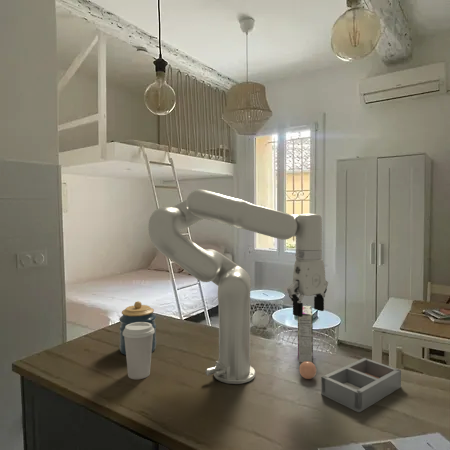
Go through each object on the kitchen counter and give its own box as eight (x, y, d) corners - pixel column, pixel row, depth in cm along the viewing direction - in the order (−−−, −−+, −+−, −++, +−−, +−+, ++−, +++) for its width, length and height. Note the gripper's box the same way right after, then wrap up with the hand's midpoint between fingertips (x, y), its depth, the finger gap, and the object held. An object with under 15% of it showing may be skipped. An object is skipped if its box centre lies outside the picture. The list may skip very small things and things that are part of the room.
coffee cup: (161, 371, 109) (160, 323, 109) (141, 384, 100) (141, 332, 100) (136, 365, 113) (136, 319, 113) (115, 378, 104) (115, 328, 104)
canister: (163, 347, 129) (163, 300, 128) (137, 359, 118) (137, 307, 117) (138, 340, 136) (138, 295, 135) (111, 351, 125) (111, 302, 124)
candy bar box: (297, 350, 126) (297, 305, 126) (311, 351, 125) (311, 305, 125) (297, 362, 115) (297, 313, 115) (313, 364, 114) (313, 314, 114)
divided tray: (358, 412, 86) (359, 393, 86) (321, 394, 95) (321, 376, 95) (400, 387, 99) (401, 370, 99) (364, 373, 108) (364, 357, 108)
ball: (308, 383, 101) (309, 366, 101) (295, 377, 105) (295, 361, 105) (319, 378, 104) (319, 362, 104) (306, 372, 108) (306, 356, 108)
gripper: (299, 258, 95) (299, 321, 96) (337, 254, 106) (336, 310, 106) (279, 256, 101) (279, 315, 101) (316, 252, 112) (316, 305, 112)
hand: (308, 312), depth 104 cm, fingers open, 9 cm apart
